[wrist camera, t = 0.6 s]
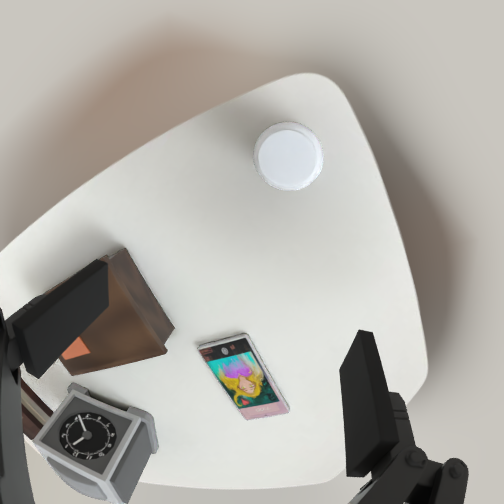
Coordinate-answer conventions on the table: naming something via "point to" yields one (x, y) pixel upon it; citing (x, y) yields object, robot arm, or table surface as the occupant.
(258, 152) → the pill bottle
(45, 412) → the decorative book
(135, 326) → the wooden box
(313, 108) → the table surface
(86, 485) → the alarm clock
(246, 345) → the smartphone
